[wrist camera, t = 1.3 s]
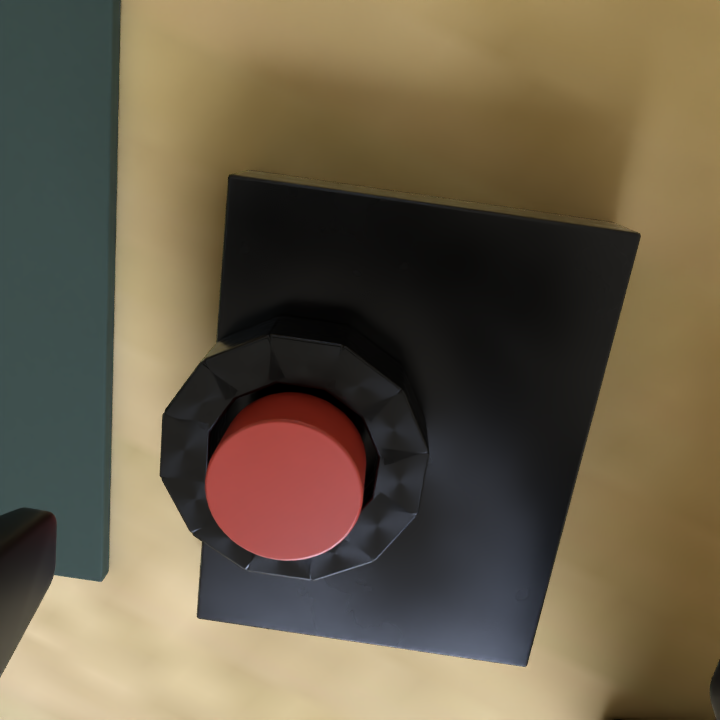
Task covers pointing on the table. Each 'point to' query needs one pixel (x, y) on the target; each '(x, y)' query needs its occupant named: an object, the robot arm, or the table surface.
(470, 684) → the table surface
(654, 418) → the table surface
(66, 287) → the mat
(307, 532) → the button
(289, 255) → the control block
